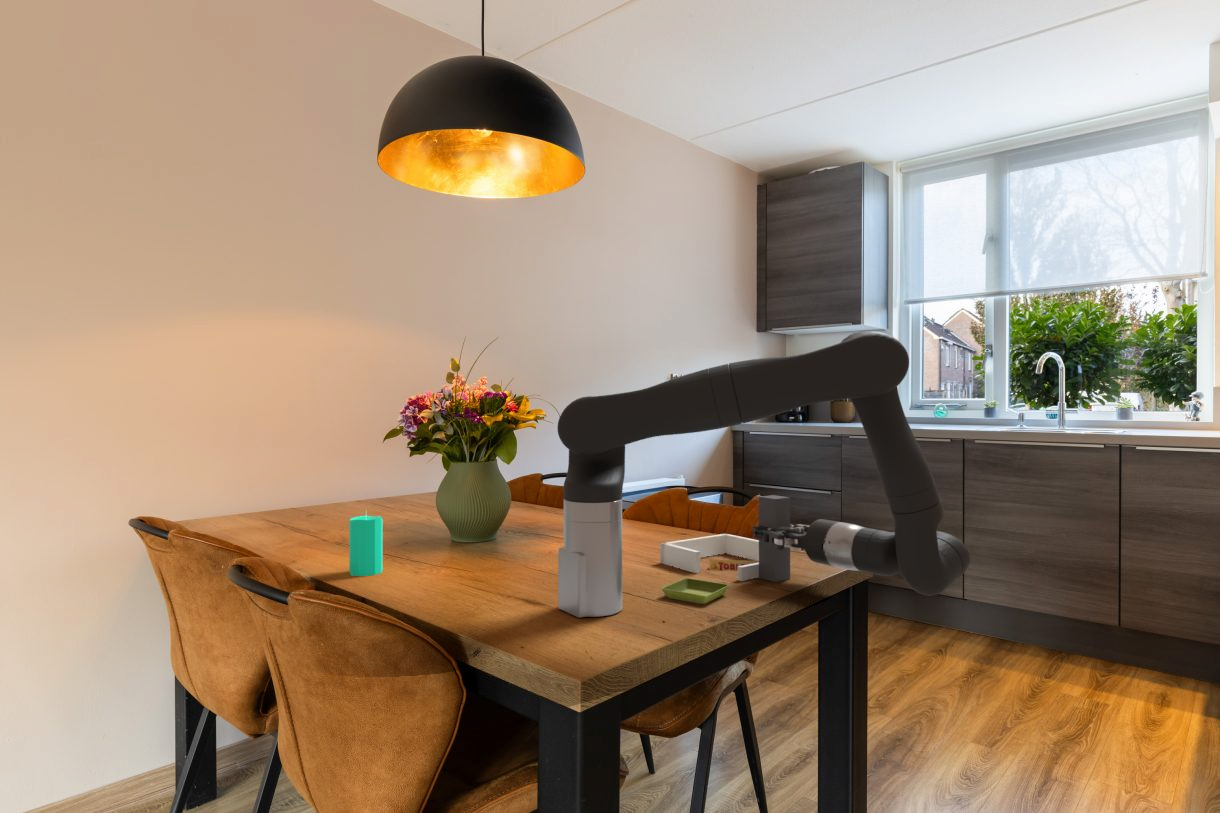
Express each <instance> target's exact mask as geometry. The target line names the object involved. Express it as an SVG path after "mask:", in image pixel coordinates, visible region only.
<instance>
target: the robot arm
mask: <svg viewBox="0 0 1220 813" xmlns="http://www.w3.org/2000/svg"><path fill="white" fill-rule="evenodd" d="M909 367H910V358H909V353H908V351H907V349H906V348H905V346H904V345H903V344H902V343H901V341H900V340H898V339H897V338H896V337H894V336H893V335H890V334H888V333H885V332H882V331H874V330H871V331H870V330H867V331H866V330H864V331H858V332H854V333H852V334H849V335H848V336H846V337H845V338H843V339H842V340H841V342H838V343H836V344H833V345H831V346H826V347H823V348H820V349H817V350H814V351H810V352H806V353H801V354H797V355H795V354H794V355H788V356H775V357H763V358H761V357H760V358H754V359H748V360H741V361H735V362H729V363H725V364H721V365H718V366H717V365H716V366H713V367H708V368H705V369H701V370H698V371H694V372H690V373H687V374H683V375H681V376H677V377H674V378H672V379H668V380H667V381H664V382H660V383H658V384H655V385H652V386H650V387H646V388H642V389H637V390H633V391H628V392H619V393H615V394H606V395H596V396H595V395H594V396H592V395H591V396H589V395H588V396H583V397H579V398H576V399H575V400H573V401H571V402H570V403H569V404H568V405H566V407H565V408H564V409H563V411H562V412H561V414H560V416H559V418H558V420H557V421H558V422H557V433H558V434H557V435H558V437H559V440H560V442H561V443H562V445H563V446H565V448H566V449H568V467H567V473H566V477H565V479H564V482H563V546H562V547H559V548H558V549H557V551H558V552H557V554H558V555H557V561H558V563H557V564H558V569H557V570H558V571H557V573H558V574H557V575H558V576H557V577H558V578H557V579H558V582H557V585H558V586H557V592H558V594H557V596H558V597H557V598H558V603H557V604H558V605H557V607H558V609H559V610H561V611H563V612H566V613H567V614H570V615H573V616H575V617H576V618H578V619H579V618H585V617H588V618H589V617H591V618H593V617H604V616H612V615H615V614H617V613H620V612H621V611H622V610H623V490H624V488H623V486H624V480H625V473H626V472H625V471H626V468H625V467H626V445H628V444H633V443H635V442H638V441H643V440H646V439H651V438H654V437H663V436H673V435H684V434H693V433H701V432H707V431H713V430H720V429H723V428H724V429H725V428H728V427H734V426H737V425H742V424H746V423H751V422H753V421H754V422H755V421H758V420H762V419H766V418H770V417H772V416H776V415H780V414H783V413H784V414H785V413H787V412H790V411H793V410H795V409H796V410H797V409H798V408H802V407H806V406H810V405H813V404H818V403H824V402H832V401H840V400H846V399H849V400H850V402H851V404H852V405H853V407H854V409H855V411H856V414H857V416H858V417H859V418H858V419H859V420H860V422H861V425H862V428H863V430H864V433H865V434H866V438H867V441H868V443H869V447H870V449H871V453H872V457H873V459H874V462H875V465H876V469H877V472H878V475H879V476H878V477H879V479H880V481H881V484H882V489H883V491H884V495H885V497H886V500H887V503H888V506H889V510H890V512H891V515H892V517H893V522H894V531H887V530H882V529H881V530H880V529H875V528H869V527H864V526H861V525H858V524H854V523H848V522H843V521H841V522H840V521H836V520H829V519H823V518H822V519H821V518H820V519H819V518H818V519H816V520H814V521H813V522H812V523H811V524H802V523H798V524H793V523H790V527H780V528H779V529H776V528H772V527H769V528H768V527H763V526H759V524H757V525H753V527H752V536H753V539H754V538H755V539H758V540H759V539H763V544H766V545H768V546H771V547H774V548H776V549H779V550H782V549H784V547H787V548H790V549H793V551H799V552H800V551H801V552H802V551H805V553H806V555H807V557H808V558H809V560H810V561H812V562H813V563H816V564H821V565H825V566H830V567H835V568H838V569H843V570H849V571H856V572H857V571H858V572H865V573H868V574H873V575H878V576H880V577H881V576H882V577H891V576H895V575H897V574H899V573H900V574H901V576H902V578H903V580H904V581H905V582H906V584H907V585H908V586H909V587H910V588H911V590H913V591H915V592H916V593H918V594H920V595H922V596H926V597H927V596H929V597H930V596H931V597H932V596H933V597H934V596H936V595H939V594H941V593H943V592H944V591H946V590H947V589H948V588H949V587H950V586H951V585H952V584H953V583H954V582H955V581H956V580H958V579H959V578H960V577H961V576H963V574H965V572H966V571H967V570H968V568H969V567H970V563H971V554H970V552H969V549H968V548H967V546H966V545H965V543H964V542H962V540H960V539H959V538H958V537H956V536H954V535H952V534H950V533H947V532H943V531H938V528H939V526H940V524H941V522H942V520H943V519H944V514H945V511H944V507H943V503H942V500H941V497H940V494H939V491H938V487H937V485H936V482H935V479H934V476H933V473H932V471H931V468H930V466H929V463H928V461H927V459H926V456H925V455H924V453H923V450H922V449H921V447H920V445H919V443H918V441H917V438H916V437H915V435H914V432H913V431H912V429H911V426H910V424H909V422H908V419H907V417H906V414H905V411H904V408H903V406H902V402H901V400H900V399H901V398H900V395H899V389H898V386H900V384H901V383H902V382H903V381H904V379H905V377H906V375H907V374H908V372H909ZM785 531H787V533H786V538H785Z"/></svg>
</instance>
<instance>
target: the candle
mask: <svg viewBox="0 0 1220 813" xmlns="http://www.w3.org/2000/svg"><path fill="white" fill-rule="evenodd" d="M367 511H368V510H367V509H365V514H364V515H360V516H359V515H358V516H354V517H351V518H350V519H349V522H348V523H349V524H348V526H349V528H348V529H349V530H348V531H349V533H348V534H349V538H348V539H349V542H348V543H349V544H348V546H349V548H348V550H349V552H348V554H349V556H348V557H349V562H348V563H349V568H348V569H349V570H348V571H349V575H350V576H354V577H369V576H375V575H379V574H382V573H383V570H384V569H383V567H384V566H383V565H384V564H383V561H384V560H383V559H384V557H383V554H384V553H383V550H384V548H383V545H384V542H383V541H384V539H383V537H384V534H383V533H384V532H383V531H384V530H383V528H384V527H383V526H384V525H383V523H384V522H383V521H384V520H383V517H382V516H381V515H378V516H372V515H371V516H370V515H367Z"/></svg>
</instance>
